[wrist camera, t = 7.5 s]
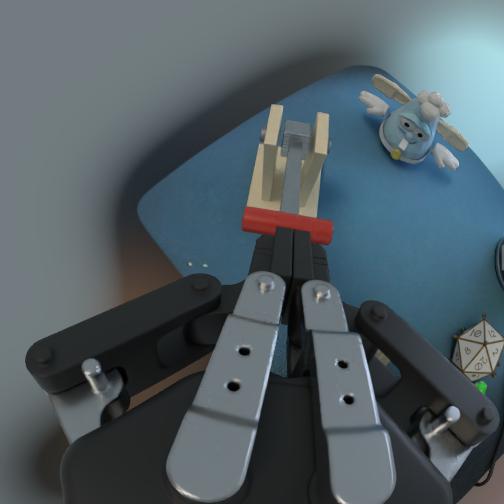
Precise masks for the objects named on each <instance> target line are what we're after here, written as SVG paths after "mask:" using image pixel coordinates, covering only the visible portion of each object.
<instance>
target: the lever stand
mask: <svg viewBox="0 0 504 504" xmlns="http://www.w3.org/2000/svg"><path fill="white" fill-rule="evenodd" d="M282 112H283V106H281V105H274V104H272V105H271V110H270V115H269V120H268V125H267V127H262V130H261V137H260V141H261V142H264V144H259V148H258V153H257V158H256V163H255V167H254V172H253V177H252V182H251V187H250V192H249V197H248V202H247V206H250V207H257V208H263V209H269V210H275V211H280V205H281V198H282V191H283V183H284V176H285V169H286V161H287V157H282V156H281V148H282V147H278V145H279V137H280V129H281V120H282ZM328 128H329V114H325V113H320V112H318V114H317V117H316V121H315V124H314V128H313V131H312V135H311V138H310V143H309V148H308V153H307V157H306V160H302V171H301V190H300V207H299V215H303V216H309V217H314V218H317V208H318V199H319V189H320V178H321V168H322V165H323V163H324V160H325V158H326V156H327V154H328V153H329V151H330V148H331V138H328Z"/></svg>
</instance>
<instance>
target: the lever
mask: <svg viewBox="0 0 504 504" xmlns="http://www.w3.org/2000/svg"><path fill="white" fill-rule="evenodd" d="M310 138H311V127H310V124H308V123H302V122H297V121H291V120H286V123H285V129H284V135H283V142H282V148H281V156H282V157H287V161H286V169H285V176H284V183H283V191H282V198H281V205H280V211H275V210H269V209H263V208H257V207H250V206H246V207H245V210H244V215H243V221H242V231H246V232H252V233H258V234H264V235H270V236H275V231H276V226H281V227H287V228H293V230H294V229H298V230H304V231H310V234H311V243H316V244H321V245H329V244H330V242H331V239H332V234H333V222H332V221H330V220H325V219H319V218H314V217H309V216H303V215H299V207H300V190H301V171H302V160H306V157H307V153H308V148H309V143H310Z"/></svg>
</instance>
